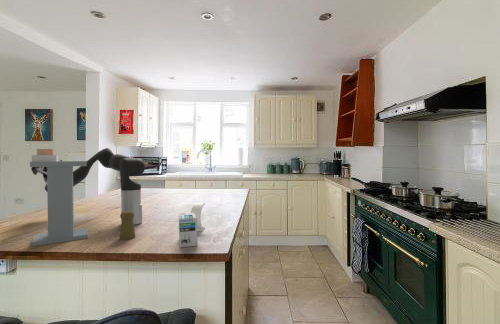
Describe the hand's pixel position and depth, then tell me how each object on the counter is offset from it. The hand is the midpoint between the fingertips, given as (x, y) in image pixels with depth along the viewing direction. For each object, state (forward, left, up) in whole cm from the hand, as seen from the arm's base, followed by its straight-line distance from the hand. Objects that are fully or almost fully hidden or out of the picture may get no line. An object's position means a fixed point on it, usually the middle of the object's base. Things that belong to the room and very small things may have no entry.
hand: (49, 161), depth 119 cm
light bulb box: (-47, +54, -32) cm, 78 cm away
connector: (0, +12, 0) cm, 12 cm away
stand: (-5, +19, -32) cm, 37 cm away
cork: (-28, +34, -32) cm, 54 cm away
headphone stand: (-57, +39, -32) cm, 76 cm away
